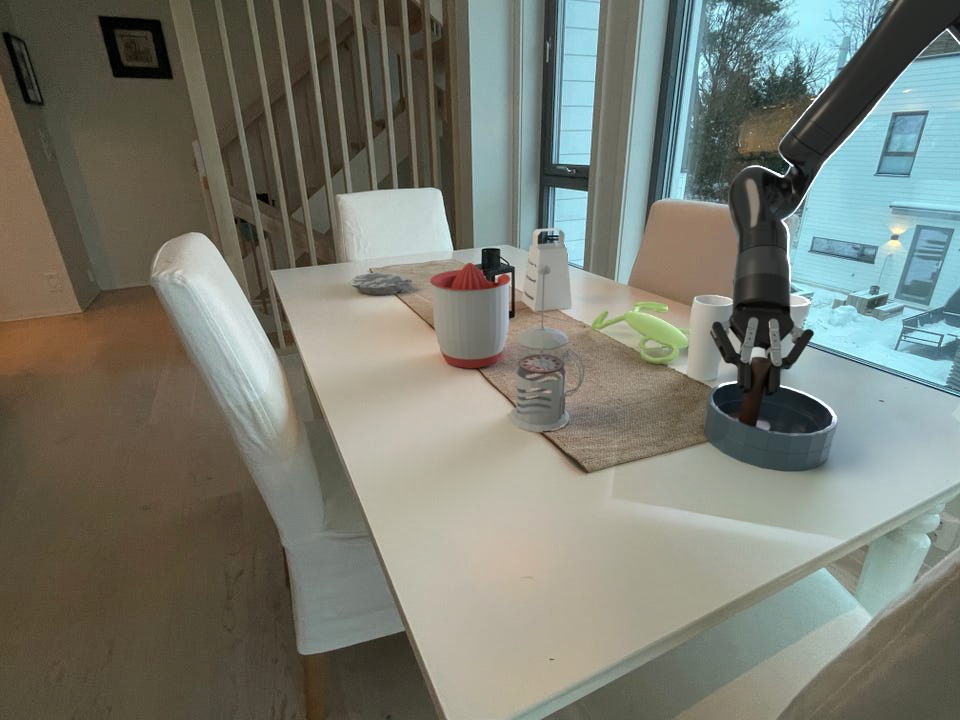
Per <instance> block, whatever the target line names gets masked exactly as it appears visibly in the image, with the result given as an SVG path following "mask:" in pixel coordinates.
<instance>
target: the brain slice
mask: <svg viewBox="0 0 960 720" xmlns="http://www.w3.org/2000/svg"><path fill="white" fill-rule="evenodd" d="M349 284H350V286H351V287H353V288H356V290H357V291H359V292H360V293H361V294H366V295H368V296H369V295H370V296H390V295H395V294H398V293H397V292H400V293H403V292H402V291H404V292H405V291H406V290H408V289H409V288H410V287H411V286H412V279H409V278H406V277H405V276H404V275H402V274H398V273H386V272H378V271H375V272H370V273H365V274H360V275H357V276H355V277H353V278H352V279H351V280H350V282H349Z"/></svg>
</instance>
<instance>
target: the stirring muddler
mask: <svg viewBox="0 0 960 720" xmlns="http://www.w3.org/2000/svg"><path fill="white" fill-rule="evenodd" d="M750 364H751V387H750V391H749V392H748V393H744V398H743V402H742V407H741V412H734V413H730V414H728V416H730V417H731V418H733V419H735V420H737V421H740V422H742V423H745V424H747V425H749V426H753V427H756V428H760V429H764V430H768V431H770V428H771V426H770V423H769V422H768V421H767V420H765V419H764V418H762V417H760V416H759V412H760V408H761V404H762V399H763V395H764V390H765V386H766V382H767V377H768V373H769V369H770V364H771V360H769V359H767V358H764V357H753V358H752V360H751V361H750Z"/></svg>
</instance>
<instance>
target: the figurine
mask: <svg viewBox="0 0 960 720" xmlns="http://www.w3.org/2000/svg"><path fill="white" fill-rule="evenodd" d="M641 311H653V312H656V313H661V314H666V313H667V312H668V311H669V307H668V305H667V304H665V303H662V302H652V301H636V302H635V303H634V308H633V309H632V311H631V310H630V311H629V310H628V311H626V312H624V313H623V315H620V316H617V317H613V318H611V319H608V320H606V321H605V319H607V317H608V316H609V311H608V310H604V311H603V312H602V313H601V314H599V315H598V316H597V317H596V318H595V319H594V320H593V322H592V324H591V325H590V330H591V331H595V330H599V331H600V330H603V329H605V328H607V327H609V326H612V325H615V324H618V323H620V322H623V321H625V322H626V323H627V325H628V326H629V327H630V328H631V329H633V330H634V331H636V333H638V334H640V335H642V336H643V337H642V338H641V339H639V342H638V347H639V348H640V351H639V354H640V356H641V359H643V360H644V361H645V362H648V363H650V364H653V365H661V364H667V363H670V362H672V361H673V360H675V359H676V358H677V357H678V356H679V355H680V349H685V348H687V347H689V339H688V338H687V336H686V335H689V328H676V327H675V326H674V325H672V324H671V323H669V322H667V321H665V320H663V319H661V318H659V317H656V316H654V315H651V314H649V313H645V312H641ZM650 340H651V341H653V342H656V343H658V344H660V345H661V346H655V347H647V346H646V343H647V342H648V341H650ZM670 349H672V352H671V353H670V354H669V355H667V356H664V357H656V358H655V357H651V356H649V355H646V354H645V352H644V351H653V350H662V351H663V352H667V351H669V350H670ZM643 350H644V351H643Z"/></svg>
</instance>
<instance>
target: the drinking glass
mask: <svg viewBox="0 0 960 720" xmlns="http://www.w3.org/2000/svg"><path fill="white" fill-rule="evenodd" d="M732 305H733V299H731V298H730V297H726V296H721V295H715V294H702V295H697V296H695V297H694V298H693V301H692V305H691V311H690V315H689V316H690V317H689V327H688V330H689V334H688V342H689V345H688V346H687V347H688V349H687V362H686V363H687V364H686V373H685V374H686V376H688V377H689V378H691V379H693V380H697V381H702V382H703V381H704V382H710V381H715V380H716V379H717V378H718V375H719V374H718V373H719V368H720V364H721V361H722V359H723V357H722V355H721V353H720V351H719V349H718V347H717V346H716V344H715V342H714V340H713V338H712V336H711V334H710V330H711V328H712V325H713V323H714V322H720V323H722V322H725V321H728V320H729V318H730V316H731V315H732ZM729 331H731V329H729Z"/></svg>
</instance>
